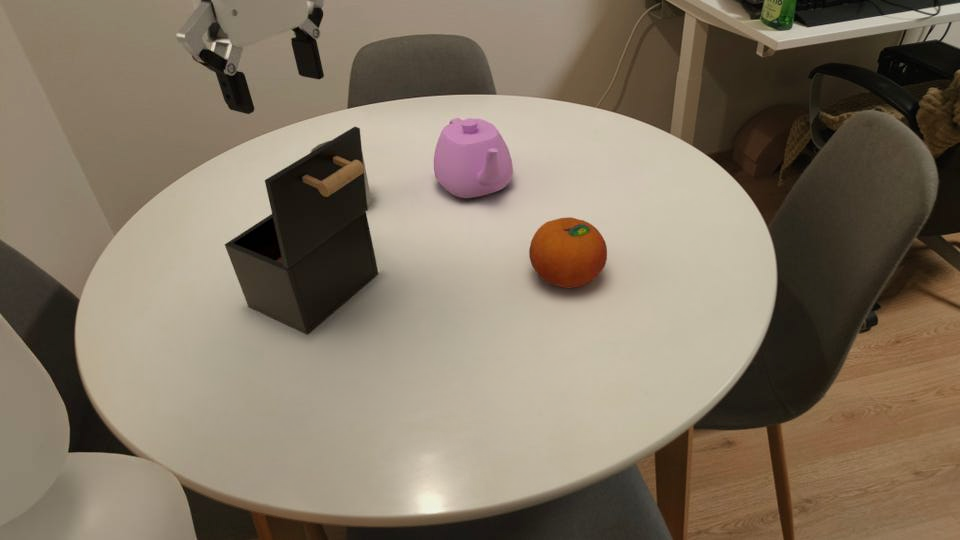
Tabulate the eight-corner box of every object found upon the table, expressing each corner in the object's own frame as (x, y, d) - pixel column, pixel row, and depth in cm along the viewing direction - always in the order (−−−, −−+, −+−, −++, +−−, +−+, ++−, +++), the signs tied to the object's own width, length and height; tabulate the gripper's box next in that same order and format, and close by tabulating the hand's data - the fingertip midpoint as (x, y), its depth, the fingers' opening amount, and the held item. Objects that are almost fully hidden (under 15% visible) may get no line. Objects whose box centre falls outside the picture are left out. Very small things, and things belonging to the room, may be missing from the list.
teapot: (422, 170, 115) (414, 110, 108) (488, 153, 119) (484, 94, 112) (463, 224, 101) (456, 158, 93) (536, 202, 104) (536, 138, 97)
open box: (248, 307, 88) (224, 244, 81) (321, 252, 97) (305, 191, 90) (307, 335, 82) (286, 270, 76) (378, 274, 92) (366, 212, 85)
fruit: (516, 285, 88) (515, 238, 83) (549, 246, 95) (549, 201, 90) (587, 308, 83) (590, 260, 78) (616, 265, 90) (620, 218, 85)
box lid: (264, 180, 67) (298, 195, 65) (354, 126, 77) (387, 138, 75) (283, 266, 76) (314, 282, 74) (363, 208, 85) (392, 221, 83)
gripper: (272, -112, 61) (311, 61, 72) (111, -82, 50) (185, 119, 61) (328, -112, 58) (361, 70, 68) (169, -79, 47) (237, 133, 57)
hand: (278, 93), depth 64 cm, fingers open, 9 cm apart
